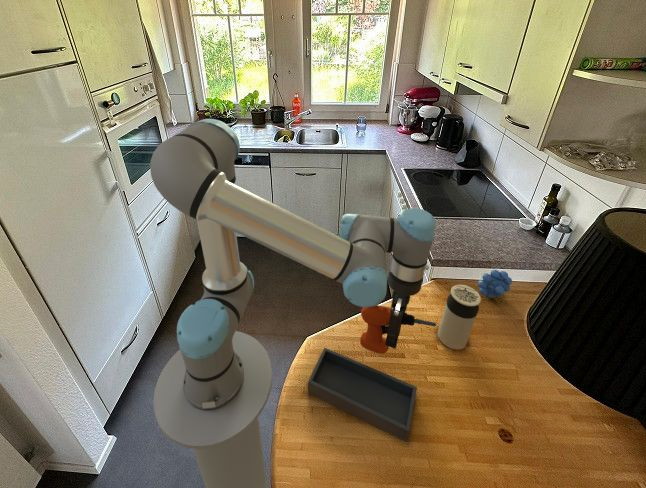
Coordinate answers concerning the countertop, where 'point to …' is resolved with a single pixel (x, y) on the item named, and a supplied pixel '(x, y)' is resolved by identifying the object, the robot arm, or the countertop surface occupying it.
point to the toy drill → (382, 327)
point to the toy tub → (364, 392)
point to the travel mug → (459, 316)
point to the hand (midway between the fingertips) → (392, 339)
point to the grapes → (494, 283)
